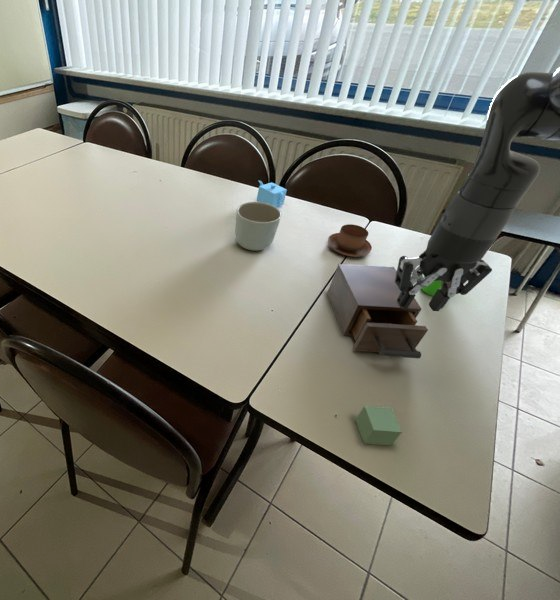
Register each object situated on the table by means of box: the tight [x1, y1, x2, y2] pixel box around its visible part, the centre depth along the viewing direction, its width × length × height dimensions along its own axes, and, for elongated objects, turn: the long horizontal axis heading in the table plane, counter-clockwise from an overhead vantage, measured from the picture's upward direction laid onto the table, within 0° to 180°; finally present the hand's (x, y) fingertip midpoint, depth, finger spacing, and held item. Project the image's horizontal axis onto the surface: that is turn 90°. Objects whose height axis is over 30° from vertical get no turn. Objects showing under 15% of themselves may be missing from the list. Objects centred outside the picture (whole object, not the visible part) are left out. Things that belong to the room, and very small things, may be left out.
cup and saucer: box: [327, 223, 373, 258], centre depth 107 cm, size 12×12×6 cm
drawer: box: [351, 309, 429, 359], centre depth 78 cm, size 18×12×7 cm, turn 175°
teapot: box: [255, 180, 288, 208], centre depth 128 cm, size 12×6×8 cm, turn 33°
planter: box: [234, 201, 282, 252], centre depth 107 cm, size 12×12×11 cm
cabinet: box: [326, 263, 422, 337], centre depth 84 cm, size 15×13×9 cm
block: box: [355, 405, 403, 447], centre depth 63 cm, size 5×5×5 cm
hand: (417, 307), depth 67 cm, fingers open, 5 cm apart
